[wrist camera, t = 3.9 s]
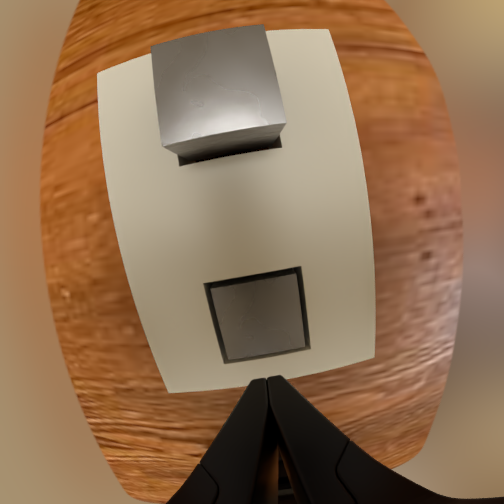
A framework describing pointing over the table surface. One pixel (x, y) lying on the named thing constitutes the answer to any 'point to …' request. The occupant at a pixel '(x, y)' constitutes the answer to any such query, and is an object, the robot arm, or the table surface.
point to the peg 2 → (259, 313)
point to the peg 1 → (217, 93)
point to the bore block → (244, 221)
